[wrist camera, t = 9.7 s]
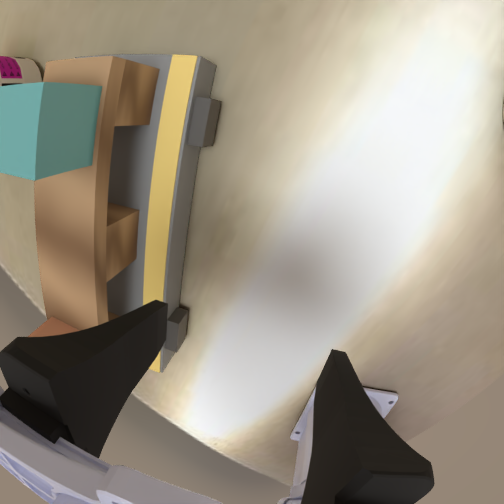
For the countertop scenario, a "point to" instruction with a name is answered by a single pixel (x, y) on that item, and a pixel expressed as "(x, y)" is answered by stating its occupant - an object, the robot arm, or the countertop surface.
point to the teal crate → (47, 128)
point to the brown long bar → (90, 197)
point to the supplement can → (18, 71)
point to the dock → (162, 187)
